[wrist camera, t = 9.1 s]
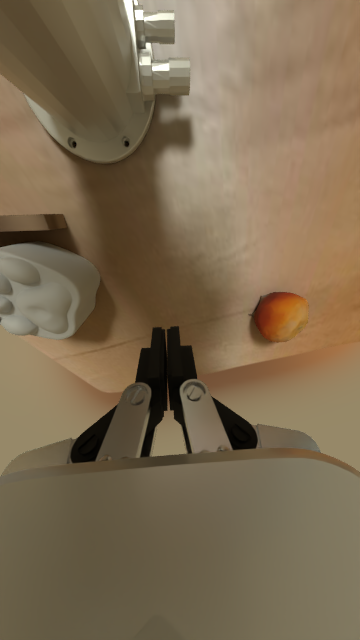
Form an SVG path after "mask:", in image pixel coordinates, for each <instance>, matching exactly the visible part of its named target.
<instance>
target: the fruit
mask: <svg viewBox="0 0 360 640" xmlns="http://www.w3.org/2000/svg"><path fill="white" fill-rule="evenodd" d="M308 312H309V305H308V302H307V300H306V299H304V298H302V297H300V296H298V295H296V294H293V293H287V292H273V293H270V294H267V295H265V296H261V300H260V303H259V305H258V307H257V309H256V311H255V312H254V313H253V314H248V315H253V316H254V320H255V323H256V326H257V328H258V330H259V331H260V333H261V334H262V336H263V337H264V338H266V339H268V340H270V341H273V342H286V341H289V340H291V339H292V338H294V337H295V336H296V335H297V334H298V333H299V332H301V331H302V330H303V329H304V328H305V326H306V324H307V323H308Z"/></svg>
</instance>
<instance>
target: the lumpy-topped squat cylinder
mask: <svg viewBox="0 0 360 640" xmlns="http://www.w3.org/2000/svg"><path fill="white" fill-rule="evenodd" d="M99 284H100V274H99V272H98V270H97V269H96V267H95V266H94V265H93V264H92V263H91V262H90V261H88V260H87V259H85V258H83V257H81V256H79V255H77V254H75V253H73V252H71V251H69V250H66V249H64V248H61V247H59V246H56V245H53V244H50V243H46V242H42V241H32V242H25V243H20V244H15V245H9V246H4V247H0V325H2V326H3V327H4V328H5V329H6V330H7V331H8V332H9V333H12V334H15V335H29V334H30V335H34V336H39V337H44V338H49V339H56V340H61V339H65V338H68V337H70V336H72V335H73V334H74V333H75V332H76V331H77V329H78V328H79V327H80V326H81V325H82V324H83V322H84V321H85V320H86V319H87V317H88V316H89V315H90V314H91V312H92V311H93V310H94V308H95V298H96V292H97V289H98V287H99Z"/></svg>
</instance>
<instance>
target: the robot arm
mask: <svg viewBox="0 0 360 640" xmlns="http://www.w3.org/2000/svg"><path fill="white" fill-rule="evenodd" d="M152 43H159V44H174V43H175V29H174V10H158V12H143V6H142V5H139V3H138V0H0V74H1V75H2V76H4V77H5V78H6V79H7V80H8V81H10V82H11V83H12V84H13V85H14V86H16V87H17V88H18V89H19V90H21V91H22V92H23V94H24V96H25V98H26V100H27V102H28V104H29V106H30V108H31V109H32V111H33V112H34V114H35V115H36V117H37V119H38V120H39V122H40V123H41V124H42V125H43V127H44V128H45V129H46V130H47V131H48V133H49V134H50V135H51V136H52V137H53V138H54V139H55V140H56V141H57V142H58V143H60V144H61V145H62V146H63V147H64V148H66V149H67V150H69V151H70V152H71V153H73V154H75V155H77V156H78V157H80V158H82V159H84V160H87V161H90V162H93V163H101V164H109V163H115V162H118V161H120V160H123V159H125V158H126V157H128V156H129V155H130V154H132V153H133V152H134V151H135V150H136V149H137V147H138V146H139V145H140V144H141V142H142V141H143V139H144V137H145V135H146V133H147V131H148V129H149V126H150V123H151V120H152V117H153V111H154V105H155V99H156V94H170V96H181V95H189V90H190V58H169V60H154V55H153V49H152ZM126 142H129V147H126V146H125V143H126ZM74 143H77V146H76V148H75V147H74ZM167 376H168V389H169V401H170V410H174V419H175V420H176V421H178V422H179V424H181V430H182V434H183V439H184V444H185V449H186V454H179V455H167V456H155V457H152V453H153V447H154V442H155V437H156V431H157V425H158V424H159V423H160V422H161V421H162V418H163V417H164V411H167ZM0 640H360V472H359V471H357V470H356V469H355V468H353V467H352V466H350V465H348V464H346V463H344V462H342V461H340V460H338V459H336V458H334V457H331V456H328V455H326V454H323V453H321V452H320V449H319V447H318V446H317V444H316V442H315V441H314V440H313V439H312V438H311V437H310V436H308V435H307V434H305V433H303V432H300V431H297V430H291V429H285V428H279V427H273V426H267V425H262V424H257V426H256V425H251V424H250V423H249V422H247V421H246V420H245V419H243V418H242V417H240V416H239V415H237V414H236V413H235V412H233V411H232V410H230V409H229V408H228V407H226V406H225V405H223V404H222V403H220V402H219V401H218V400H216V399H215V398H213V397H212V396H211V394H210V392H209V389H208V387H207V386H206V384H205V383H203V382H202V381H200V380H197V374H196V369H195V363H194V357H193V352H192V346H180V336H179V326H175V327H170V329H167V351H166V339H165V329H162V328H161V327H155V328H153V331H152V340H151V348H142V349H141V353H140V358H139V364H138V369H137V375H136V381H135V383H134V384H131V385H130V386H128V387H127V388H126V389H125V390H124V392H123V394H122V396H121V399H120V401H119V403H118V405H116V406H115V407H114V408H113V409H112V410H110V411H109V412H108V413H107V414H106V415H104V416H103V417H102V418H100V419H99V420H98V421H97V422H96V423H94V424H93V425H92V426H91V427H89V428H88V429H87V430H86V431H85V432H83V433H82V434H81V435H80V436H79V437H78V438H76V439H72V438H69V439H66V440H63V441H59V442H56V443H53V444H50V445H47V446H44V447H40V448H37V449H34V450H31V451H27V452H25V453H22V454H20V455H19V456H17V457H16V458H15V459H14V460H12V461H11V462H10V463H9V464H8V466H7V467H6V468H5V470H4V471H3V473H2V475H1V477H0Z"/></svg>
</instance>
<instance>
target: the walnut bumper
mask: <svg viewBox="0 0 360 640" xmlns="http://www.w3.org/2000/svg"><path fill="white" fill-rule="evenodd" d="M61 228H67V226H66V223H65V219H64V216H63V214H40V215H7V216H0V232H4V231H35V230H53V229H61Z"/></svg>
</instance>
